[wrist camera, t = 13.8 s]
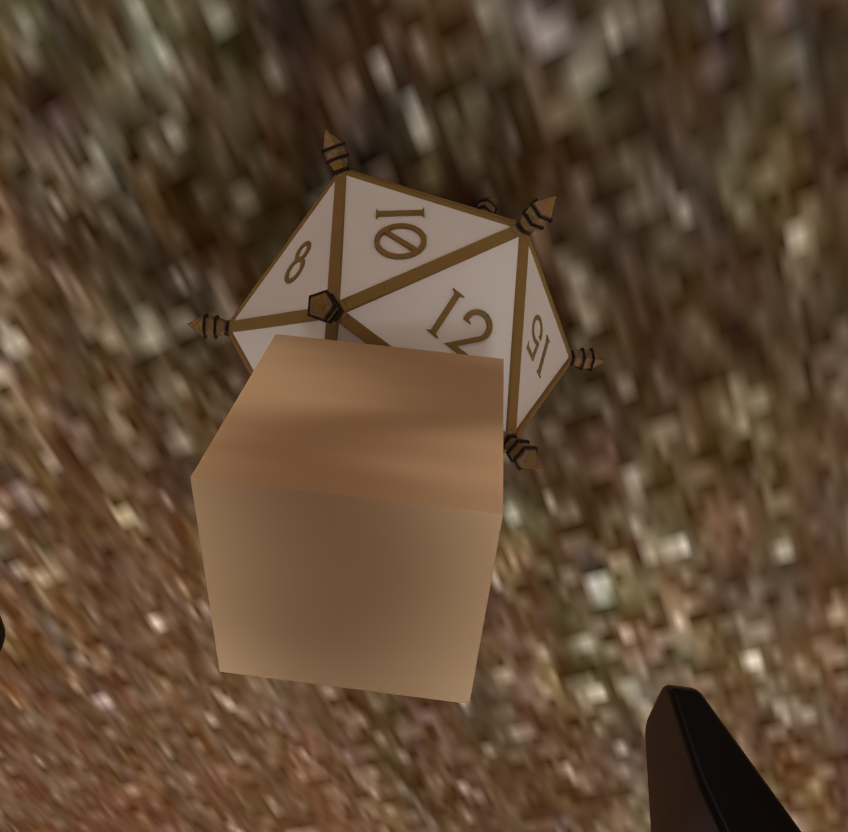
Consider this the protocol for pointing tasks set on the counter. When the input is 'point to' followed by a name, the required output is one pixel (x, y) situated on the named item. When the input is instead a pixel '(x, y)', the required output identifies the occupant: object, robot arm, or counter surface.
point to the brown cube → (355, 517)
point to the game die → (414, 287)
